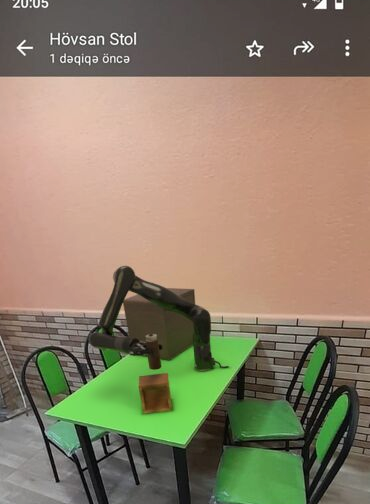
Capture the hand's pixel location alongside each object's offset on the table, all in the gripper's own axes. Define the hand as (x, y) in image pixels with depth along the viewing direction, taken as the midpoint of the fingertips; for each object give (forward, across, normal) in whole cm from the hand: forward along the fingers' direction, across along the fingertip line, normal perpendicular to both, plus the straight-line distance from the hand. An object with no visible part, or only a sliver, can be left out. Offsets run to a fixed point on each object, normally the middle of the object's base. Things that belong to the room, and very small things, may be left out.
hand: (157, 349), depth 141 cm
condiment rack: (-2, -3, +27) cm, 27 cm away
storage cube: (-40, +62, +27) cm, 79 cm away
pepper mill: (-3, 0, +8) cm, 9 cm away
